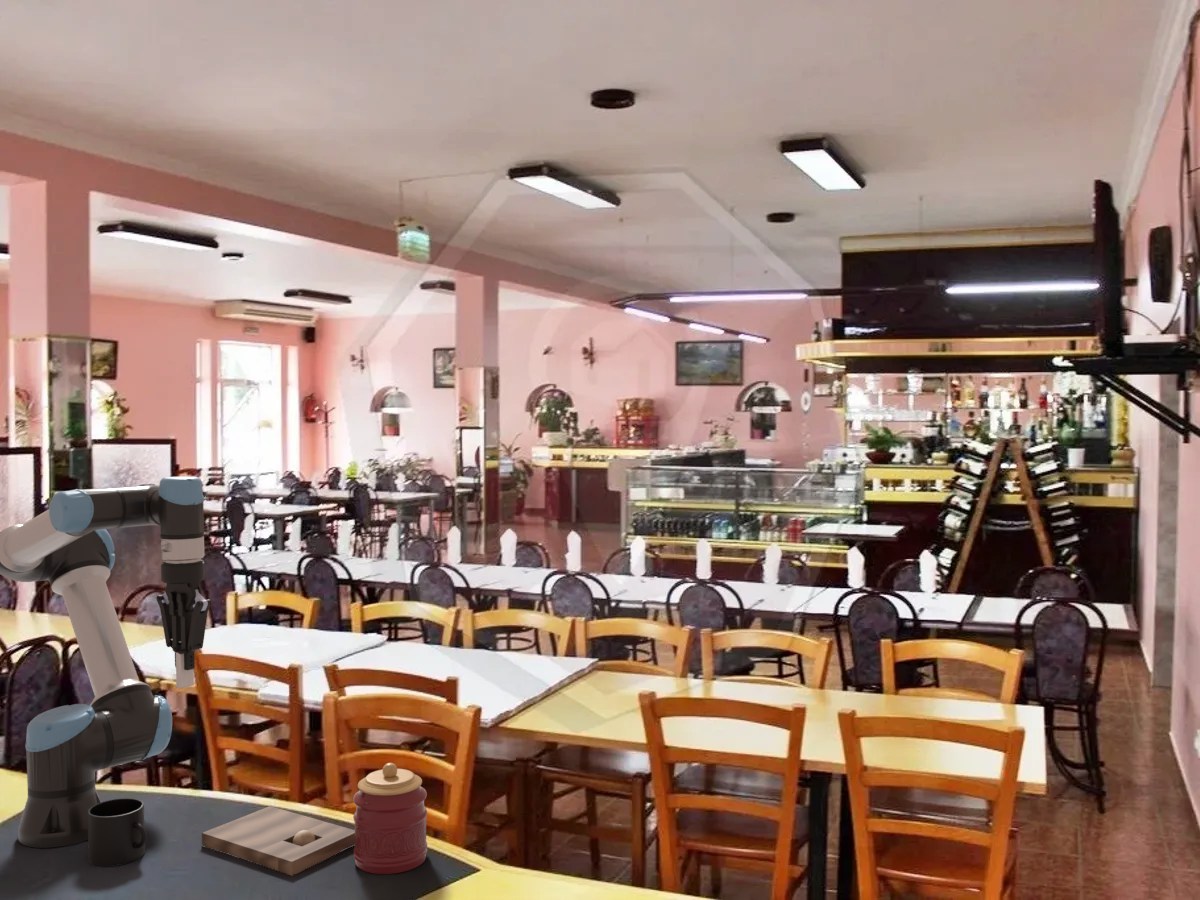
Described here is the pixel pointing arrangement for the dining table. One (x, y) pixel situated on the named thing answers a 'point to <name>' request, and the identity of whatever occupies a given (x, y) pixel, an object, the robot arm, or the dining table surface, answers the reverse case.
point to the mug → (116, 832)
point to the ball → (303, 838)
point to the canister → (390, 821)
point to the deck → (278, 839)
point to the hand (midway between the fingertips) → (185, 686)
